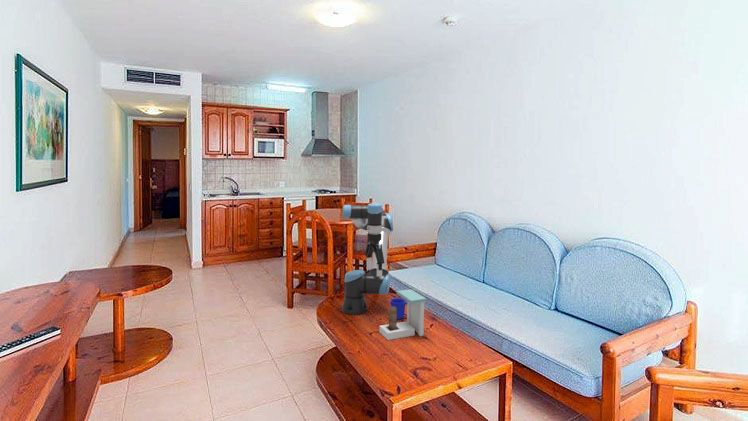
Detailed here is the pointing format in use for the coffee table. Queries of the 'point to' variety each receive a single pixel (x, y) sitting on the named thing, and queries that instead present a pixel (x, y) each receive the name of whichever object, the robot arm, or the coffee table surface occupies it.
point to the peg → (392, 318)
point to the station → (408, 317)
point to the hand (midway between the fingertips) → (374, 272)
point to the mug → (399, 307)
